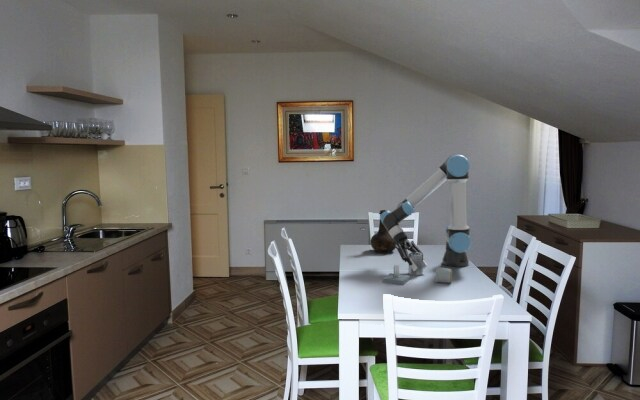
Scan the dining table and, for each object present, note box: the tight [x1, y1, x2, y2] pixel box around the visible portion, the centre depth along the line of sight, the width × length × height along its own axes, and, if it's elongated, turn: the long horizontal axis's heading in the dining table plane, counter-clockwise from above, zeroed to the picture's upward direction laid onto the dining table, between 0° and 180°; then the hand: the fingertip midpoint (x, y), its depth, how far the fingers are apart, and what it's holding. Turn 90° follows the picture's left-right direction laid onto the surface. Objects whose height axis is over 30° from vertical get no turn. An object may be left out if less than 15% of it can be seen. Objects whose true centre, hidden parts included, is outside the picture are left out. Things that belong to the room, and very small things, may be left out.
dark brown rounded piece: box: [369, 209, 397, 254], centre depth 304 cm, size 18×18×28 cm
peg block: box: [382, 264, 411, 286], centre depth 235 cm, size 11×11×8 cm
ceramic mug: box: [434, 266, 453, 284], centre depth 233 cm, size 11×8×8 cm
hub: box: [408, 252, 424, 276], centre depth 249 cm, size 7×7×11 cm
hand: (420, 268), depth 246 cm, fingers closed on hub, 8 cm apart
